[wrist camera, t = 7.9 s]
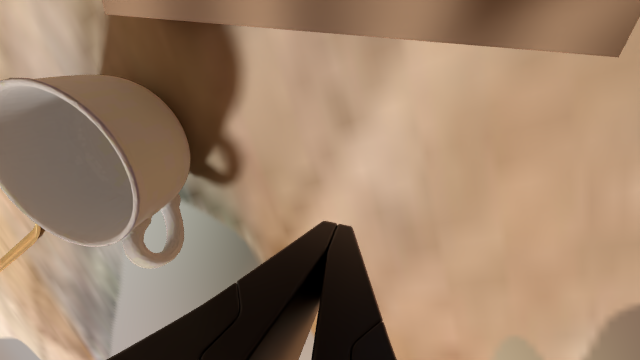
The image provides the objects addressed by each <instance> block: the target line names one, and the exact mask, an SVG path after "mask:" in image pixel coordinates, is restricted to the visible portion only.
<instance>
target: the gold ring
mask: <svg viewBox="0 0 640 360" xmlns="http://www.w3.org/2000/svg"><path fill="white" fill-rule="evenodd" d="M40 231H41V227H40V226H39V225H37V224H36V223H35V227H34V229H33V230H32V231H31V232H30V233H29V234H28V235H27V236H26V237H25V238H23V239H22V240H21V241H20V242H19V243H18V244H17V245H16V246H15V247H13V248H12V249H11V250H10V251H9V252H8V253H7V254H6V255H5V256H4V257H2V258H1V259H0V272H1V271H2V270H3V269H5V268H6V267H7V266H8V265H9V264H10V263H12V262H13V261H14V260H15V259H16V258H18V257H19V256H20V255H21V254H22V253H24V252H25V251H26V250H27V249H28V248H29V247H31V246H32V245H33V244H34V243H35V242H36V240H37V239H38V237H39V235H40ZM33 236H34V237H33ZM22 246H23V247H22ZM14 253H15V254H14ZM6 260H7V261H6Z"/></svg>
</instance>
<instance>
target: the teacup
mask: <svg viewBox="0 0 640 360" xmlns="http://www.w3.org/2000/svg"><path fill="white" fill-rule="evenodd" d="M189 169H190V150H189V144H188V141H187V138H186V135H185V132H184V130H183V128H182V126H181V124H180V122H179V120H178V119H177V117H176V116H175V114H174V113H173V112H172V111H171V109H170V108H169V107H168V106H167V105H166V104H165V103H164V102H163V101H162V100H161V99H160V98H159V97H158V96H156V95H155V94H154V93H152V92H151V91H150V90H148V89H147V88H145V87H143V86H141V85H139V84H137V83H135V82H132V81H130V80H127V79H124V78H120V77H116V76H108V75H74V76H60V77H49V78H40V79H30V78H9V79H6V80H2V81H0V188H1V189H2V191H3V192H4V193H5V194H6V195H7V196H8V198H9V199H10V200H11V201H12V202H13V203H14V204H15V205H16V206H17V207H18V208H19V209H20V210H21V211H22V212H23V213H24V214H25V215H27V216H28V217H29V218H30V219H31V220H32V221H34V222H35V223H36V224H37V225H39V226H40V227H42V228H43V229H44V230H46V231H48V232H50V233H51V234H53V235H55V236H57V237H59V238H61V239H63V240H66V241H68V242H71V243H74V244H78V245H82V246H89V247H97V246H106V245H111V244H114V243H116V242H118V241H120V240H122V242H123V247H124V251H125V254H126V255H127V257H128V258H129V260H130V261H131V262H133V263H134V264H135V265H137V266H140V267H142V268H158V267H161V266H163V265H165V264H167V263H169V262H170V261H172V260H173V259H174V258H175V257H176V256H177V254H178V253H179V252H180V250H181V248H182V244H183V241H184V227H183V220H182V217H181V213H180V209H179V205H180V200H181V198H180V195H179V194H178V193H179V191H180V190H181V189H182V187H183V186H184V184H185V182H186V180H187V177H188V174H189ZM159 210H161V211H162V214H163V217H164V220H165V223H166V229H167V241H166V245H165V247H164V250H163V251H162V252H160V253H153V252H151V251H149V250H148V249H147V248H146V246H145V244H144V242H143V239H144V233H145V230H146V229H147V227H148V226H149V224H150V223H151V218H152V216H153V215H154V214H155V213H156V212H158V211H159Z"/></svg>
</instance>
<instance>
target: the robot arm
mask: <svg viewBox="0 0 640 360" xmlns="http://www.w3.org/2000/svg"><path fill="white" fill-rule="evenodd" d="M318 309H319V311H318ZM317 311H318V318H317V325H316V332H315V339H314V346H313V352H312V360H397V359H396V357H395V354H394V351H393V348H392V346H391V343H390V340H389V337H388V334H387V331H386V328H385V325H384V323H383V322H382V321H383V320H382V316H381V313H380V310H379V307H378V304H377V301H376V298H375V295H374V292H373V289H372V286H371V283H370V280H369V277H368V274H367V271H366V267H365V264H364V261H363V258H362V255H361V252H360V249H359V246H358V243H357V240H356V237H355V234H354V231H353V228H352V227H351V226H347V225H342V224H339V225H338V226H337V224H336V223H333V222H328V221H323V222H321V223H320V224H318V225H317V226H315V227H314V228H313V229H311V230H310V231H308V232H307V233H305V234H304V235H303V236H301V237H300V238H298V239H297V240H295V241H294V242H293V243H291V244H290V245H288V246H287V247H285V248H284V249H283V250H281V251H280V252H278V253H277V254H275V255H274V256H273V257H271V258H270V259H268V260H267V261H265V262H264V263H263V264H261V265H260V266H258V267H257V268H256V269H254V270H253V271H251V272H250V273H248V274H247V275H245V276H244V277H243V278H241V279H240V280H238V281H237V283H234V284H232V285H231V286H229V287H228V288H227V289H225V290H224V291H222V292H221V293H219V294H218V295H216V296H215V297H213V298H212V299H210V300H209V301H207V302H206V303H204V304H203V305H201V306H199V307H198V308H196V309H194V310H193V311H191V312H189V313H188V314H186V315H184V316H183V317H181V318H179V319H178V320H176V321H174V322H172V323H171V324H169V325H167V326H165V327H164V328H162V329H160V330H158V331H157V332H155V333H153V334H151V335H150V336H148V337H146V338H144V339H143V340H141V341H139V342H137V343H135V344H134V345H132V346H130V347H129V348H127V349H125V350H123V351H122V352H120V353H118V354H116V355H114V356H112V357H110V358H109V359H107V360H299V357H300V355H301V352H302V349H303V346H304V344H305V342H306V339H307V337H308V334H309V332H310V329H311V327H312V324H313V322H314V319H315V316H316V314H317Z"/></svg>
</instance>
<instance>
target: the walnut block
mask: <svg viewBox="0 0 640 360" xmlns="http://www.w3.org/2000/svg"><path fill="white" fill-rule="evenodd" d="M102 2H103V6H104V10H105V14H107V15H119V16H131V17H143V18H155V19H167V20H179V21H191V22H202V23H214V24H226V25H238V26H250V27H262V28H274V29H286V30H298V31H310V32H322V33H334V34H346V35H358V36H370V37H382V38H394V39H406V40H418V41H430V42H442V43H454V44H466V45H478V46H490V47H502V48H514V49H526V50H538V51H550V52H562V53H574V54H586V55H598V56H610V57H619V55H620V53H621V51H622V49H623V48H624V46H625V44H626V42H627V40H628V38H629V36H630V34H631V32H632V30H633V28H634V26H635V24H636V22H637V21H638V19H639V17H640V0H102Z"/></svg>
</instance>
